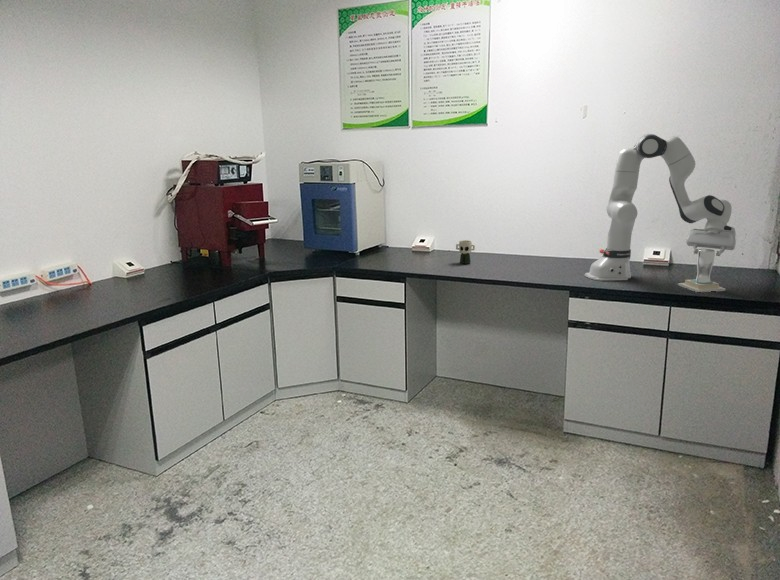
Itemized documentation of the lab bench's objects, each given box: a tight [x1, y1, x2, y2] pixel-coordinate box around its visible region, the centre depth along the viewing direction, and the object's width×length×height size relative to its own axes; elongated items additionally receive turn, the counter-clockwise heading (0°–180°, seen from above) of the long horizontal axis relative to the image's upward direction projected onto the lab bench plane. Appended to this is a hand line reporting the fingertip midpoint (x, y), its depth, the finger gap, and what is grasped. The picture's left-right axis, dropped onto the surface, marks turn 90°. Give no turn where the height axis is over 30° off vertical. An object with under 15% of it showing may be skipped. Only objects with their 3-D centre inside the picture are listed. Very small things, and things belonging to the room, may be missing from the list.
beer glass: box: [695, 248, 716, 283], centre depth 264 cm, size 7×7×15 cm
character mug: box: [455, 239, 476, 265], centre depth 329 cm, size 11×7×13 cm, turn 69°
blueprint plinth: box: [677, 278, 726, 293], centre depth 267 cm, size 14×14×3 cm
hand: (706, 254), depth 265 cm, fingers open, 8 cm apart
